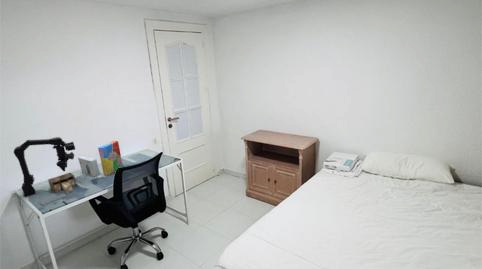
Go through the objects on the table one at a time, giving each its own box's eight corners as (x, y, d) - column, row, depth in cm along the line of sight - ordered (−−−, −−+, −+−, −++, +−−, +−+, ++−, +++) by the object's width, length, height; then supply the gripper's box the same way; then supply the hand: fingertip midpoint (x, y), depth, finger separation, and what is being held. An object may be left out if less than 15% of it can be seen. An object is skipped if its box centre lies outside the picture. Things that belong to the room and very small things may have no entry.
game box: (108, 175, 227) (102, 147, 219) (103, 175, 228) (97, 147, 220) (123, 166, 246) (118, 140, 238) (118, 166, 247) (113, 140, 239)
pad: (42, 205, 181) (42, 205, 181) (39, 202, 185) (39, 202, 185) (67, 196, 193) (67, 195, 193) (64, 193, 197) (64, 193, 197)
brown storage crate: (54, 192, 199) (51, 182, 196) (50, 189, 204) (47, 179, 202) (76, 185, 211) (73, 175, 208) (72, 182, 216) (70, 172, 213)
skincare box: (81, 172, 235) (77, 157, 230) (86, 170, 240) (83, 155, 235) (94, 176, 225) (91, 160, 221) (100, 174, 230) (96, 158, 225)
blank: (67, 193, 197) (65, 187, 196) (61, 188, 206) (59, 182, 204) (72, 191, 200) (71, 185, 198) (66, 186, 209) (65, 180, 207)
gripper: (70, 153, 201) (75, 171, 205) (73, 147, 217) (77, 163, 221) (54, 156, 196) (58, 174, 201) (58, 149, 212) (63, 166, 217)
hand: (65, 169), depth 210 cm, fingers open, 9 cm apart
